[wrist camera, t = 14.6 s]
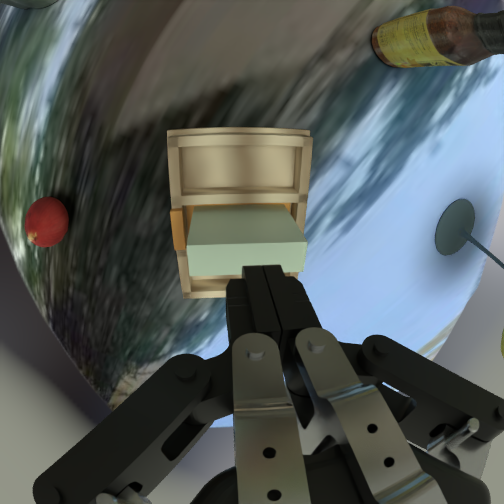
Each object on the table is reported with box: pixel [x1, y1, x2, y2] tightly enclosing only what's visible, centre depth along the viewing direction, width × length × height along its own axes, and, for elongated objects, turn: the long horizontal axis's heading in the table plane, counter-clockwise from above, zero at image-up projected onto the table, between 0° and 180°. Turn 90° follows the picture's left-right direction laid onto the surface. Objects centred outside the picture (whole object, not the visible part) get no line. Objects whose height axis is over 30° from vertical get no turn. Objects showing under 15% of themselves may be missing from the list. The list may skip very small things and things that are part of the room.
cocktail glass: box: [435, 199, 504, 358], centre depth 26 cm, size 18×18×25 cm
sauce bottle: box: [372, 6, 504, 68], centre depth 14 cm, size 6×6×20 cm
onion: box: [25, 197, 69, 247], centre depth 25 cm, size 6×6×8 cm
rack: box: [167, 127, 313, 299], centre depth 30 cm, size 15×20×4 cm
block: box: [187, 204, 308, 276], centre depth 27 cm, size 10×3×9 cm, turn 88°
